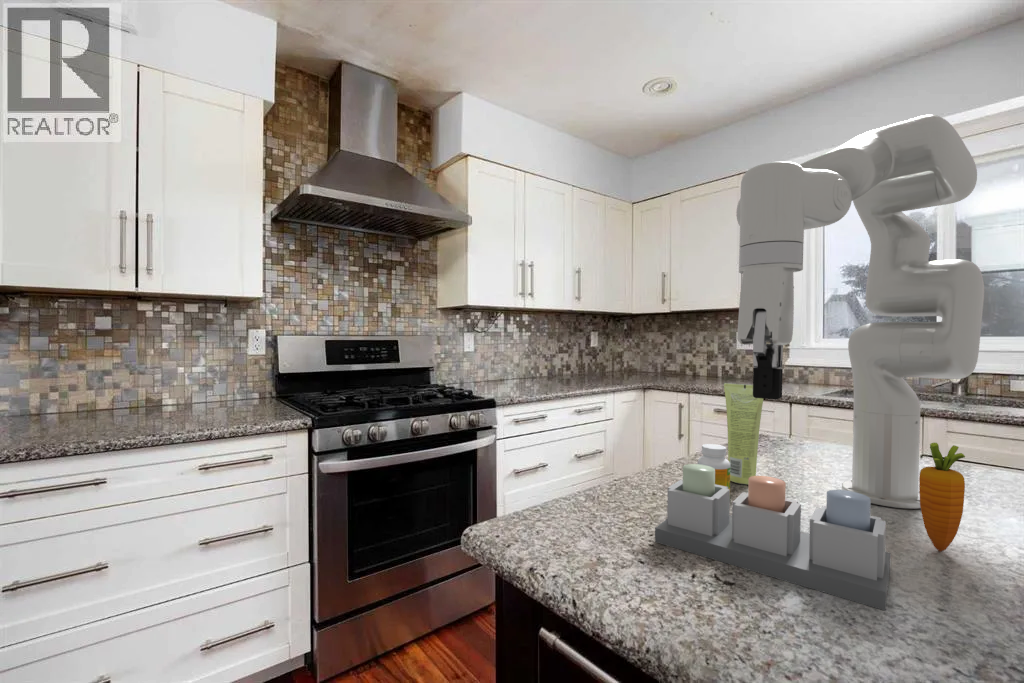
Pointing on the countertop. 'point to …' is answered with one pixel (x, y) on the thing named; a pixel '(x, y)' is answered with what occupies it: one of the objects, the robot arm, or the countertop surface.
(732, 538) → the three-cup grey tray
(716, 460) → the supplement bottle
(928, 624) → the countertop surface
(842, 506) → the button slate
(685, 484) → the button sage
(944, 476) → the carrot
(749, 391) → the tube
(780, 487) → the button terracotta
